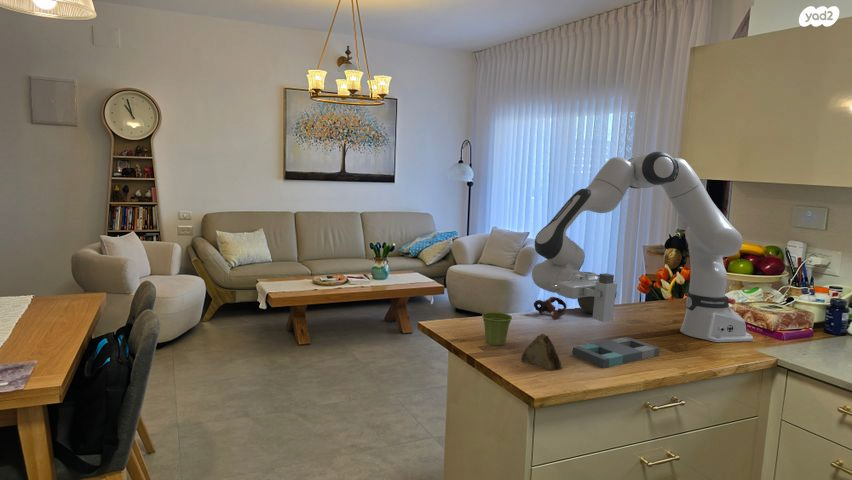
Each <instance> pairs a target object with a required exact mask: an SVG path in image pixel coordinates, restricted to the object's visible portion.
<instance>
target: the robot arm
mask: <svg viewBox="0 0 852 480" xmlns="http://www.w3.org/2000/svg"><path fill="white" fill-rule="evenodd" d="M655 186H661V188H662V189H663V190H664V191H665V193H666V195H667V197H668V199H669V201H670V203H671V204H672V206H673V208H674V210H675V211H676V213H677V215H678V217H679V218H680V219H681V221H682V220H683V222H684V223H685V224H686V225H687V228H686V230H685V240H686V243H687V245H688V253H689V254H688V255H689V261H690V263H689V264H690V275H689V276H690V277H689V286H688V287H689V289H688V292H687V296H686V302H685V303H686V304H685V305H686V306H685V307H686V310H685V311H686V312H685V315H684V319H683V322H682V325H681V326H680V329H679V331H680V333H682V334H683V335H686V336H689V337H692V338H697V339H700V340H701V339H702V340H706V341H710V342H713V343H726V342H727V343H729V342H730V343H731V342H732V343H733V342H735V343H736V342H752V341H754V337H753V335H752V334H751V333H749V332H747V326H746V321H745V319H744V318H742V316H740V315H739V314H738V313H737V312H736V311H735V310H733V309H732V308H731V307H730V305H732V306H734V305H735V304H736V303H737V300H736V299H735V298H733V297H728V296H727V295H726V287H727V278H728V273H727V270H726V268H725V264H724V259H723V258H726V257H732V256H735V255H736V254H738V253H739V252H740V250H741V248H742V247H743V241H744V240H743V237H742V234H741V233H740V231H738V230H737V229H736V228H735V227H734V226H733V225H732V224H731V223H730V222H729V220H728V219H727V217H726V215H724V214H723V212H722V211H721V209H719V208H718V206H717V205H716V204H715V203H714V201H713V200H712V198H711V197H710V195H709V193H708V191H707V189H706V188H705V186H704V184H703V183H702V181H701V179H700V177H699V176H698V175H697V173H696V172H695V170H694V169H693V167H692V166H691V165H690V164H689V163H688V162H687V161H686V160H685V159H684V158H680V157H674V158H673V157H672V156H671V155H670V154H668V153H666V152H663V151H653V152H648V153H643V154H640V155H639V156H638V155H637V156H636V157H632V158H630V159H626V158H625V157H621V156H615V157H614V156H613V157H612V158H610V159H608V161H606V163H605V164H604V165H603V166H602V167H601V168H600V170H599V171H598V172H597V174H595V176H594V178H593V180H592V181H591V182H590V184H589V185H588V186H586V187H585V188H580V189H578V190H577V191H576V192H575V193H574V194H572V196H570V198H569V199H568V200H567V201H566V202H565V204H564V205H563V206H562V207H561V208H560V209H559V211H558V212H557V213H556V214H555V216H554V217H553V218H552V219H551V220H550V222H548V223H547V224H546V225H545V226H544V227H543V228H541V229H540V231H538V232H537V234H536V236H535V239H534V250H535V252H536V253H537V254H538V255H540V256H541V257H542V258H544V259H545V260H544V261H542V262H539V263H536V264H535V265H534V266H533V268H532V271H531V278H532V281H533V283H534V285H536V286H537V287H539V288H540V289H542V290H544V291H546V292H549V293H554V294H556V295H559V296H561V297H564V298H567V299H571V300H577V298H580V297H589V296H592V297H597V298H599V297H602V294H603V292H602V291H599V290H595V286H596V282H598V281H599V276H596V275H597V273H595V272H589V271H581V269H582V266H583V264H584V261H585V251H584V249H583V248H581V247H580V245H578V244H577V242H575V241H574V240H572V239H571V238H570V237H569V236H567V234H566V233H567V230H568V229H569V228H570V226H571V225H572V224H573V223H574V222H575V220H576V219H577V218H578V217H579V216H580V214H582V213H583V212H586V211H589V212H591V213H592V212H593V213H597V214H606V213H607V214H608V213H610V212H612V211H614V210H615V209H616V208H617V207H618V205H620V203H621V201H622V200H623V198H624V196H625V194H626V192H627V190H629V188H631V189H645V188H646V189H647V188H653V187H655ZM613 283H616V291H618V290H617V289H618V283H617V281H615V280H613ZM616 291H615V293H616Z"/></svg>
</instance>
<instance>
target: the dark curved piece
mask: <svg viewBox="0 0 852 480" xmlns="http://www.w3.org/2000/svg"><path fill="white" fill-rule="evenodd" d="M555 302H557V305H561V306H562V307H563V308H557V310H556V306H555V305H553V303H555ZM538 305H539V306H538ZM567 306H568V305H567V304H566V302H565V301H564V300H563V299H561V298H559V297H556V296H550V297H548V299H545V300H544V301H543V300H542V299H536V300H535V301H534V302H533V307H534V309H535V310H536V311H537V312H539V313H538V314H540V315H542V314H543V313H550V314H552V313H553V314H552V315H551V319H553V320H556V319H558V318H560V317H563V316H565V315H566V311H567ZM551 312H552V313H551Z"/></svg>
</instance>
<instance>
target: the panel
mask: <svg viewBox="0 0 852 480" xmlns="http://www.w3.org/2000/svg"><path fill="white" fill-rule="evenodd" d="M659 355H660V347H659V346H655V345H652V344H649V343H647V342H643V341H640V340H638V339H635V338H632V337H629V336H624V337H619V338H614V339H608V340H601V341H598V342H593V343H587V344H582V345H577V346H572V356H573V357H576V358H578V359H580V360H582V361H585V362H588V363H590V364H593V365H594V366H595V365H596V366H597V367H600V368H603V369H607V368H609V367H615V366H619V365H623V364H627V363H632V362H637V361H641V360H645V359H650V358H654V357H660V356H659Z"/></svg>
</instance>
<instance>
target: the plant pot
mask: <svg viewBox="0 0 852 480" xmlns="http://www.w3.org/2000/svg"><path fill="white" fill-rule="evenodd" d="M481 317H482V319H483V323H484V334H485V335H484V337H485V342H486V344H488V345H491V346H498V345H500V346H504V345H505V344H506V341H507V335H508V330H509V326H510V323H511V321H512V319H513V317H512V316H511V315H510V314H507V313H503V312H500V311H499V312H494V311H491V312H485V313H482V315H481Z"/></svg>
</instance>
